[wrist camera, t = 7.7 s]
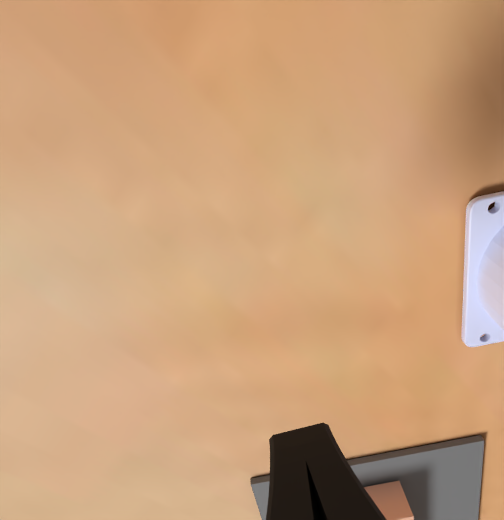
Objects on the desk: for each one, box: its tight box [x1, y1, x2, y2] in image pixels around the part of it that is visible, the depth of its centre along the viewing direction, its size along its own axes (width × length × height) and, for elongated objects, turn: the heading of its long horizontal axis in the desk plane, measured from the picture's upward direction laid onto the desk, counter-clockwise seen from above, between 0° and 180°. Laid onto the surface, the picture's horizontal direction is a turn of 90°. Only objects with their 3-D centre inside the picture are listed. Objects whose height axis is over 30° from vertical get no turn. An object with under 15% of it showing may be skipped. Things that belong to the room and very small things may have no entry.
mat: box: [251, 435, 484, 520], centre depth 28 cm, size 14×12×1 cm
